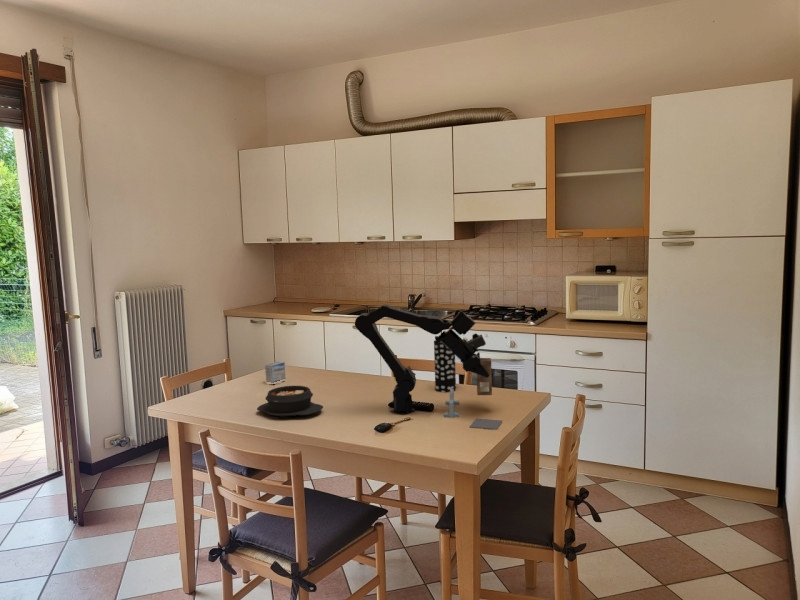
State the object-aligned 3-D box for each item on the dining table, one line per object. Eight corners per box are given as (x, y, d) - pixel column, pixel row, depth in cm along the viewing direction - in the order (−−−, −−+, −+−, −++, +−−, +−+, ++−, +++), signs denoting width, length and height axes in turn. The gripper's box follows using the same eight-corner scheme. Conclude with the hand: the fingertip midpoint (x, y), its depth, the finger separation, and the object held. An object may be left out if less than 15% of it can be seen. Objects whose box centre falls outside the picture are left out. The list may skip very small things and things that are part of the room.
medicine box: (273, 385, 260) (272, 365, 259) (265, 384, 263) (264, 364, 262) (286, 381, 267) (285, 362, 266) (278, 380, 269) (277, 361, 268)
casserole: (246, 417, 214) (244, 394, 214) (276, 403, 231) (275, 382, 231) (305, 423, 204) (304, 399, 204) (333, 408, 221) (331, 386, 221)
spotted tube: (453, 392, 237) (451, 343, 235) (432, 391, 240) (431, 342, 237) (458, 387, 245) (456, 339, 243) (438, 386, 247) (436, 338, 245)
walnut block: (477, 395, 208) (476, 361, 207) (477, 391, 213) (476, 358, 212) (491, 395, 208) (491, 361, 206) (491, 391, 213) (490, 358, 211)
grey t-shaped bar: (458, 417, 205) (458, 402, 205) (444, 417, 206) (443, 403, 205) (459, 402, 223) (458, 389, 222) (445, 402, 224) (445, 389, 223)
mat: (469, 427, 194) (469, 426, 194) (476, 419, 202) (476, 418, 202) (497, 429, 191) (497, 428, 191) (502, 421, 199) (502, 420, 199)
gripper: (472, 332, 199) (506, 364, 199) (471, 323, 218) (502, 353, 218) (448, 355, 201) (482, 387, 201) (450, 345, 219) (481, 374, 219)
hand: (488, 374), depth 210 cm, fingers closed on walnut block, 5 cm apart
